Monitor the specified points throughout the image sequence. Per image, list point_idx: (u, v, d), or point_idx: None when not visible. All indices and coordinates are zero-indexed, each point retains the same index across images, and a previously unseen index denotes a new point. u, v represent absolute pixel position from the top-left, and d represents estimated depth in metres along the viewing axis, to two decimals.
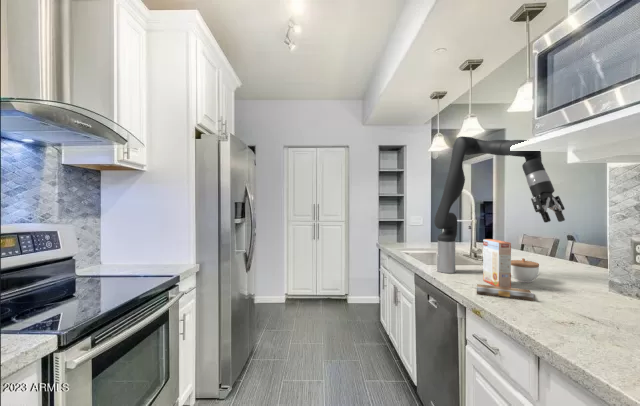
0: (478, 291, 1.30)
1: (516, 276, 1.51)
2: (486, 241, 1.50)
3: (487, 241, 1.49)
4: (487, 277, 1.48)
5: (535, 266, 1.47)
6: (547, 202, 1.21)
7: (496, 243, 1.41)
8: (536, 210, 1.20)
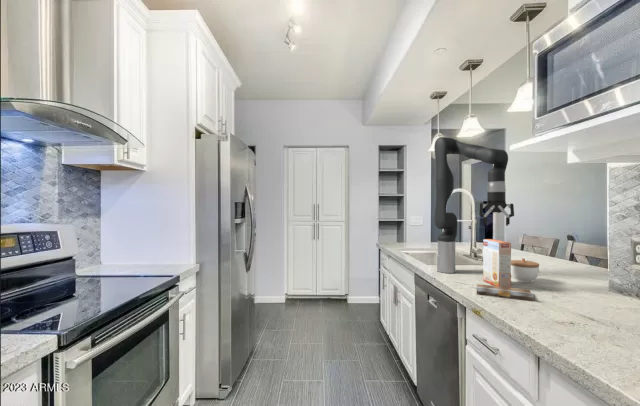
0: (478, 291, 1.30)
1: (516, 276, 1.51)
2: (486, 241, 1.50)
3: (487, 241, 1.49)
4: (487, 277, 1.48)
5: (535, 266, 1.47)
6: (489, 209, 1.46)
7: (496, 243, 1.41)
8: (479, 214, 1.50)
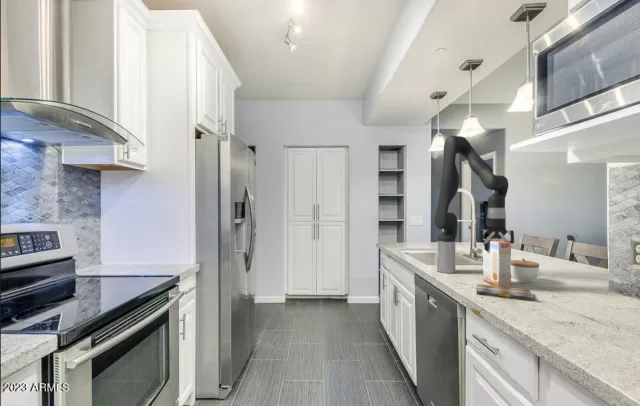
0: (478, 291, 1.30)
1: (516, 276, 1.51)
2: None
3: None
4: (487, 277, 1.48)
5: (535, 266, 1.47)
6: (490, 236, 1.46)
7: (496, 243, 1.41)
8: None
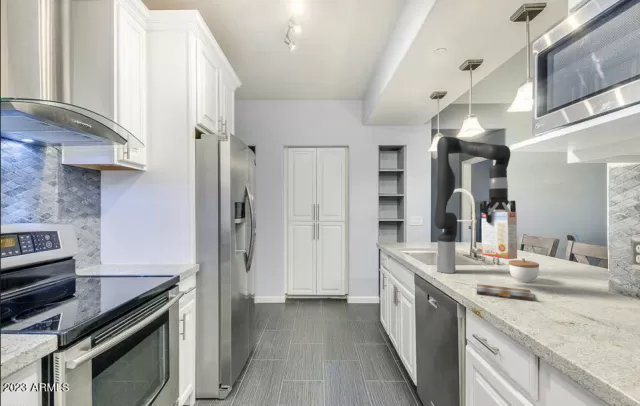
0: (478, 291, 1.30)
1: (516, 276, 1.51)
2: None
3: None
4: (489, 250, 1.43)
5: (535, 266, 1.47)
6: (494, 207, 1.41)
7: (503, 213, 1.37)
8: (482, 212, 1.44)
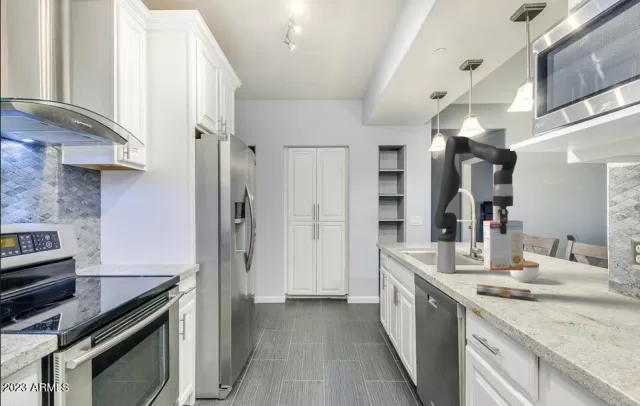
0: (478, 291, 1.30)
1: (516, 276, 1.51)
2: (497, 223, 1.29)
3: (499, 223, 1.29)
4: (501, 263, 1.29)
5: (535, 266, 1.47)
6: (507, 216, 1.29)
7: (518, 222, 1.29)
8: (501, 222, 1.26)
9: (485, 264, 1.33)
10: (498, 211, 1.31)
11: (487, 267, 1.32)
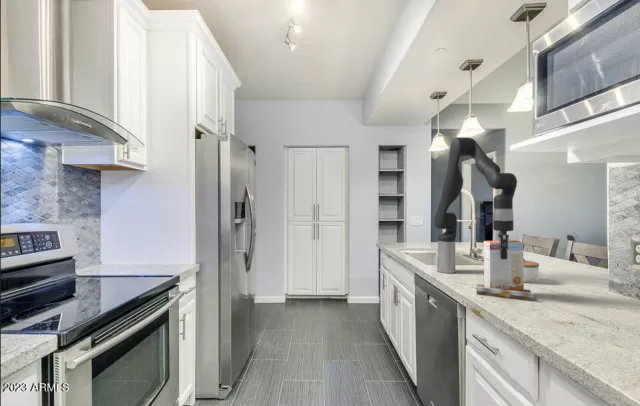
0: (478, 291, 1.30)
1: None
2: (497, 244, 1.29)
3: None
4: (501, 284, 1.29)
5: (535, 266, 1.47)
6: None
7: (518, 243, 1.29)
8: (502, 247, 1.26)
9: (485, 284, 1.33)
10: (498, 235, 1.31)
11: (487, 287, 1.32)
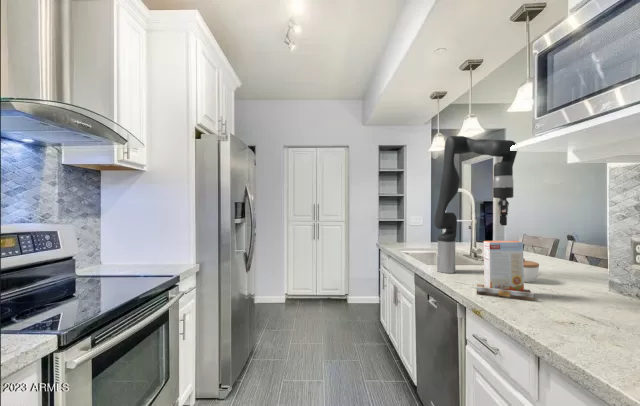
0: (478, 291, 1.30)
1: None
2: (497, 244, 1.29)
3: (499, 243, 1.29)
4: (501, 284, 1.29)
5: (535, 266, 1.47)
6: None
7: (518, 243, 1.29)
8: (502, 213, 1.26)
9: (485, 284, 1.33)
10: (498, 203, 1.31)
11: (487, 287, 1.32)
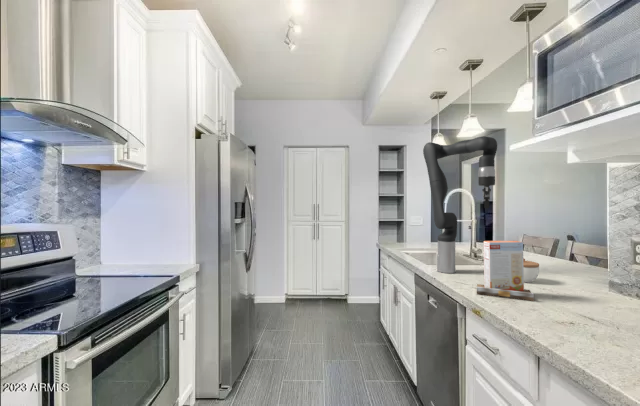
0: (478, 291, 1.30)
1: None
2: (497, 244, 1.29)
3: (499, 243, 1.29)
4: (501, 284, 1.29)
5: (535, 266, 1.47)
6: (490, 193, 1.54)
7: (518, 243, 1.29)
8: (485, 198, 1.51)
9: (485, 284, 1.33)
10: (483, 189, 1.56)
11: (487, 287, 1.32)
